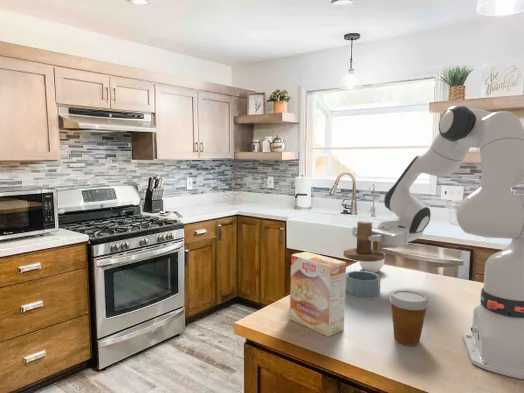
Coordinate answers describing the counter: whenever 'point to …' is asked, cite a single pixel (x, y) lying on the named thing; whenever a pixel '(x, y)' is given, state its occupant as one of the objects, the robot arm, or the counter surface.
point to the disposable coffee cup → (408, 315)
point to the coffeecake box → (318, 292)
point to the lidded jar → (372, 265)
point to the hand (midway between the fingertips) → (362, 236)
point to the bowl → (362, 283)
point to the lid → (363, 245)
